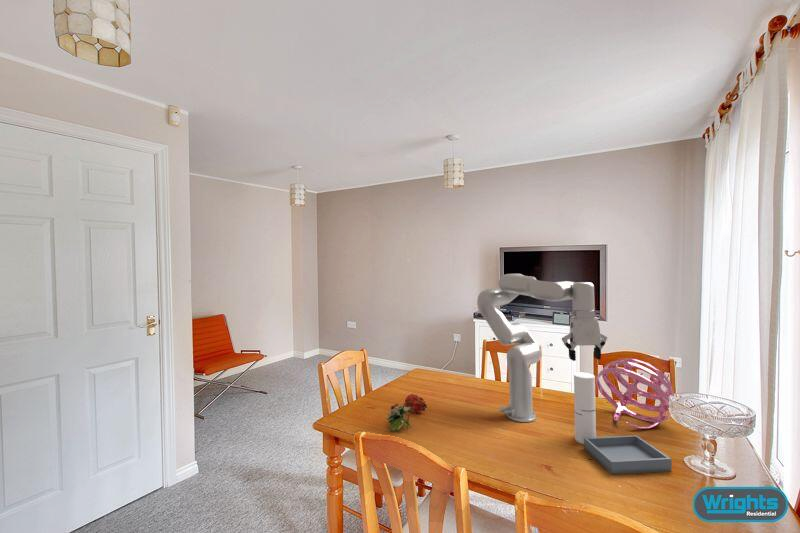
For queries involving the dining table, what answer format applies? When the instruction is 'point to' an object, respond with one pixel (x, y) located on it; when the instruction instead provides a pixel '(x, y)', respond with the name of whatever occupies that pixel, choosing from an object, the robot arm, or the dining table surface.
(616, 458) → the tray
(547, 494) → the dining table surface
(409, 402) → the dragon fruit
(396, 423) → the green leafy plant
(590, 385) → the cylindrical container
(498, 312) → the robot arm
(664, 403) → the spiral basket
